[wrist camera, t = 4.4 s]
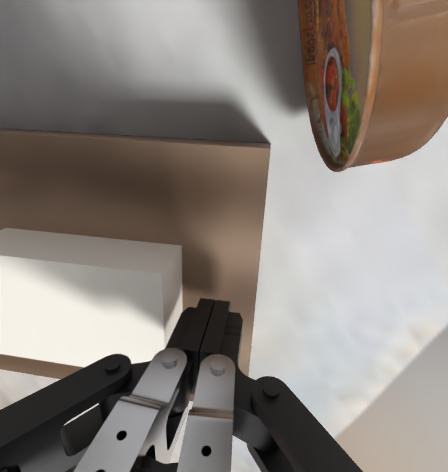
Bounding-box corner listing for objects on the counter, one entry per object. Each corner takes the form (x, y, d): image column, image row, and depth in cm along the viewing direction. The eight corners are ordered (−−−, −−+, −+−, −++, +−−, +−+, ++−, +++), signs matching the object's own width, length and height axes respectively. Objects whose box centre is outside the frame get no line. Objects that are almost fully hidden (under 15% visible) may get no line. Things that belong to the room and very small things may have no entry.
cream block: (6, 227, 16) (-48, 249, 13) (181, 245, 15) (161, 273, 12) (28, 316, 18) (-14, 351, 16) (182, 338, 17) (166, 380, 14)
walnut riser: (-32, 126, 18) (-88, 128, 15) (270, 143, 15) (270, 148, 13) (25, 338, 24) (-8, 367, 21) (248, 372, 21) (244, 410, 19)
